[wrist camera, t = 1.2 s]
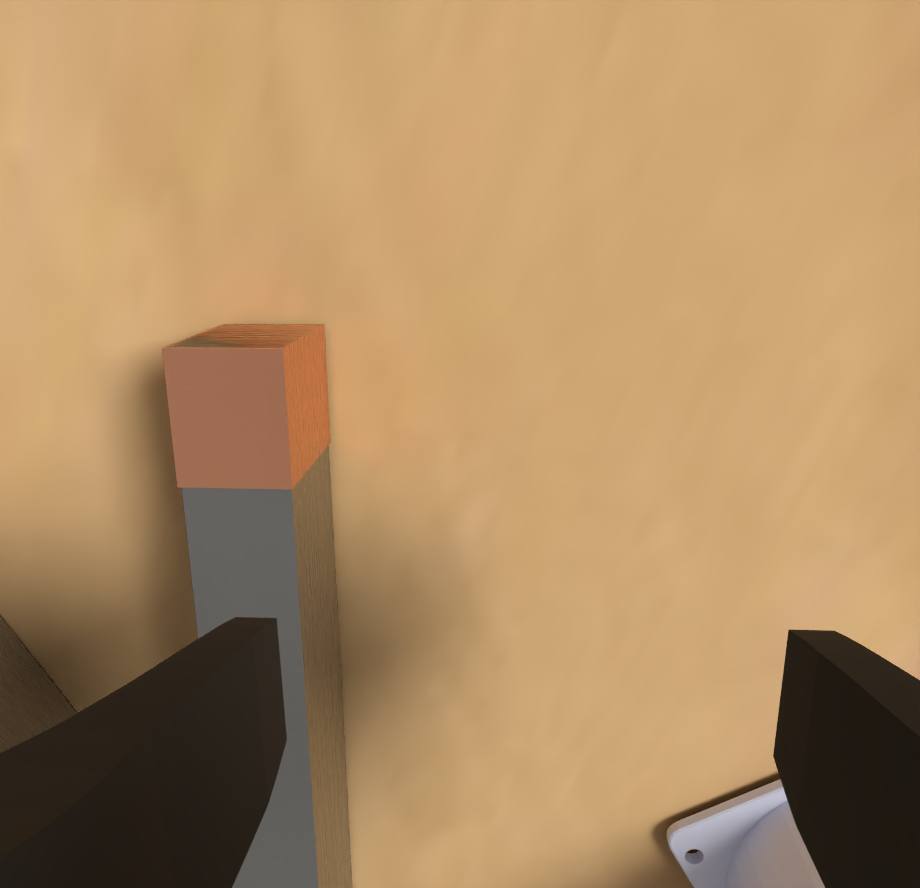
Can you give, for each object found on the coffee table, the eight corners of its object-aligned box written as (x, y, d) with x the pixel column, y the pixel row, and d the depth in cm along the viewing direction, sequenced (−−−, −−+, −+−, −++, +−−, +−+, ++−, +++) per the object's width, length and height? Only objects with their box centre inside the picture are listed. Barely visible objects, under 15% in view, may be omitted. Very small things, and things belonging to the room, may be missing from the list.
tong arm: (359, 995, 25) (333, 1126, 22) (232, 987, 26) (185, 1115, 22) (324, 324, 19) (279, 350, 16) (159, 323, 20) (78, 349, 16)
